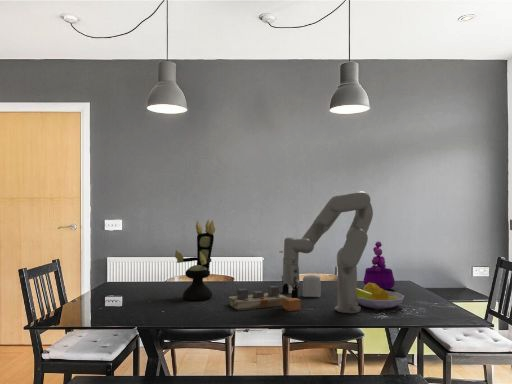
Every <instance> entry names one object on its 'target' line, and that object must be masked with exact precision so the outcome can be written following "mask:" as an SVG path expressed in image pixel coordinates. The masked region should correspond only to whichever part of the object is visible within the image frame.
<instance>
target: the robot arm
mask: <svg viewBox="0 0 512 384" xmlns="http://www.w3.org/2000/svg"><path fill="white" fill-rule="evenodd" d="M352 211H355V213H354V214H355V215H354V217H353V219H352V222H351V225H350V227H349V229H348V231H347V233H346V235H345V238H346V240H345V242H344V244H343V246H342V247H341V248H340V249H339V250H338V251H337V254H336V267H337V268H336V269H337V271H336V273H337V305H336V306H334V311H336V312H337V313H342V314H358V313H360V312H361V306H359V303H357V288H358V268H357V265H359V262H360V261H361V258H362V255H363V253H364V251H365V249H366V248H367V247H366V246H367V243H368V239H369V237H368V234H367V233H368V231H369V228H370V225H371V223H372V220H373V217H374V209H373V206H372V203H371V197H370V195H369V193H367V192H365V191H356V192H355V191H354V192H351V193H346V194H339V195H335V196H332V197H331V198H330V199H329V200H328V201H327V203H326V204H325V205H324V207H323V208H322V210H321V211H320V212H319V214H318V215H317V217H316V218H315V219H314V220H313V222H312V224H311V226H310V227H309V228H308V230H307V231H306V232H305V233H304V235H303V236H302V238H297V237H286V238H284V242H283V243H284V244H283V258H284V268H283V267H282V275H281V283H282V285H281V286H282V295H287V294H288V290H289V286H288V285H291V286H292V289H293V290H292V293H291V297H292V298H298V297H299V295H298V293H299V288H300V285H301V284H300V283H301V282H300V267H299V257H300V256H299V254H300V253H302V254H310V253H312V252H313V251H314V249H315V245H316V244H317V243H318V241H319V240H320V238H321V237H322V236H324V234H325V233H326V232H328V231H329V230H330V228H331V227H332V226H333V225H334V223H335V222H336V220H337V219H338V218H339V216H340V215H341V214H342V213H348V212H352ZM298 299H299V298H298Z"/></svg>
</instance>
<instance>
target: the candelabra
mask: <svg viewBox="0 0 512 384" xmlns="http://www.w3.org/2000/svg"><path fill="white" fill-rule="evenodd" d="M195 229H196V234H197V236H196V248H197V251H196V255H197V256H193V257H185V258H184V257H183V254H182V253H181V252H180V251H178V250H177V249H175V257H174V258H175V260H176V263H177V264H179V263H188V262H195V261H196V265H192V266H189V268H188V269H186V271H185V276H186V277H187V278H189V279H192V281H191V282H192V283H191V284H190V285H189V286H188V287H187V288H185V290H184V292H182V293H183V294H182V298H183V299H184V300H186V301H191V302H192V301H193V302H195V301H196V302H197V301H199V302H200V301H205V300H210V299H211V298H212V297H213V292H212V290H211V289H210V288H209V287H208V286H207V285H206V284H205V283H204V280H203V279H205V278H208V277H209V276H210V274H211V271H210V264H211V262H212V258H211V255H212V252H213V250H212V249H213V246H214V240H215V239H214V238H215V236H214V234H215V232H216V227H215V223H214V220H213V219H212V220H211V222H210V219H209V218H208V219H207V221H206V223H205V232H203V227H202V226H201V224H200V222H199V220H198V219H197V220H196V224H195Z"/></svg>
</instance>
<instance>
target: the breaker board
mask: <svg viewBox="0 0 512 384" xmlns="http://www.w3.org/2000/svg"><path fill="white" fill-rule="evenodd" d="M283 298H289V297H288V296H285V294H282V293H279V296H276V297H270V296H268V292H265V293H264V297H260V298H257V299H256V298H254V297H253V294H248V299H244V300H239V299H237V295H234V296H228V305H229V306H231V307H232V308H234V309H235V310H237V311H247V310H256V308H257V309H263V308H264V309H265V307H266V308H272V307H280V306H281V307H283Z"/></svg>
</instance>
